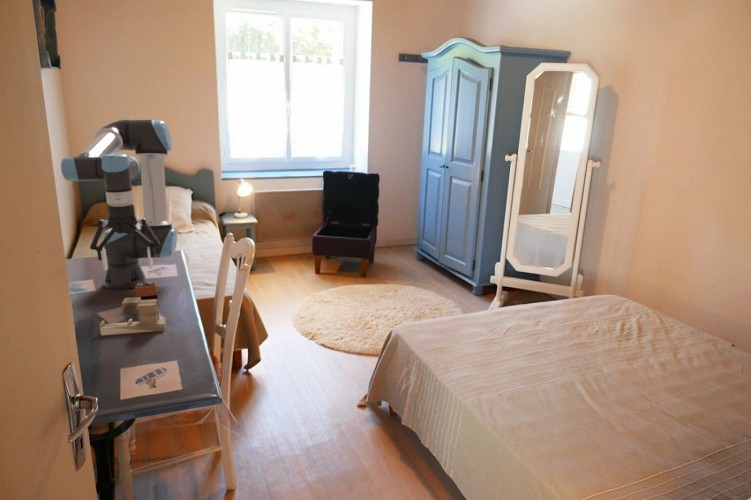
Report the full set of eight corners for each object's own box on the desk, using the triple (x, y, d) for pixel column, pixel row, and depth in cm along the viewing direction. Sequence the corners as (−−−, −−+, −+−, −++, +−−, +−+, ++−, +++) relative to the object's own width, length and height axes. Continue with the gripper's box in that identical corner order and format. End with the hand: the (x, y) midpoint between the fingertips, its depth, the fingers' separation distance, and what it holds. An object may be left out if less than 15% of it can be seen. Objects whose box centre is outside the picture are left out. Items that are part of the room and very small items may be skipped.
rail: (104, 330, 168) (100, 303, 165) (166, 325, 172) (163, 298, 170) (100, 336, 163) (96, 309, 161) (164, 331, 168) (161, 304, 165)
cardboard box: (142, 315, 180) (140, 296, 178) (139, 322, 174) (137, 303, 172) (127, 316, 179) (124, 297, 177) (123, 323, 173) (121, 304, 171)
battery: (158, 309, 185) (155, 283, 182) (137, 312, 183) (134, 285, 180) (158, 305, 189) (156, 279, 186) (138, 307, 186) (135, 281, 184)
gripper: (72, 207, 156) (83, 274, 162) (161, 205, 162) (168, 269, 168) (79, 202, 163) (89, 266, 169) (164, 200, 169) (170, 262, 175)
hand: (128, 268), depth 168 cm, fingers open, 13 cm apart
